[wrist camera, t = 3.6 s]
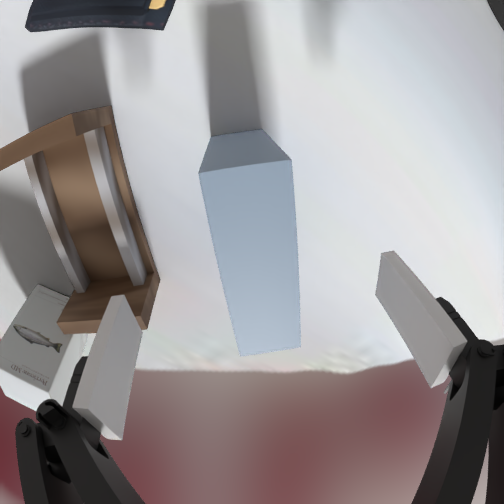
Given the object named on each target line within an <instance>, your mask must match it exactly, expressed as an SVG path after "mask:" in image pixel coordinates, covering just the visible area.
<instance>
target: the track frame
mask: <svg viewBox="0 0 504 504" xmlns="http://www.w3.org/2000/svg"><path fill="white" fill-rule="evenodd" d="M22 159H24V161H25V165H26V169H27V172H28V175H29V179H30V182H31V185H32V188H33V191H34V194H35V197H36V200H37V203H38V206H39V209H40V211H41V214H42V217H43V219H44V222H45V224H46V227H47V229H48V232H49V234H50V237H51V239H52V242H53V244H54V246H55V249H56V251H57V253H58V255H59V257H60V260H61V262H62V264H63V266H64V268H65V270H66V272H67V274H68V276H69V278H70V280H71V282H72V284H73V286H74V288H75V290H74V291H73V293H72V295H71V297H70V298H69V300H68V302H67V304H66V306H65V307H64V309H63V311H62V313H61V315H60V317H59V318H58V320H57V322H56V323H57V325H58V326H59V328H60V329H61V331H62V332H63V334H85V333H97V331H98V328H99V326H100V323H101V321H102V318H103V316H104V313H105V311H106V308H107V306H108V303H109V301H110V299H111V296H118V295H125V298H126V300H127V302H128V304H129V306H130V308H131V310H132V312H133V314H134V316H135V318H136V320H137V322H138V324H139V326H140V328H141V330H145V329H147V328H148V324H149V320H150V316H151V312H152V308H153V305H154V301H155V297H156V293H157V290H158V286H159V283H160V278H159V275H158V272H157V270H156V267H155V264H154V261H153V258H152V255H151V252H150V249H149V246H148V243H147V240H146V237H145V234H144V231H143V228H142V225H141V222H140V218H139V215H138V212H137V208H136V205H135V201H134V198H133V195H132V191H131V187H130V184H129V180H128V176H127V172H126V169H125V165H124V161H123V157H122V153H121V148H120V144H119V140H118V135H117V131H116V126H115V122H114V117H113V112H112V107H111V106H106V107H100V108H95V109H90V110H85V111H80V112H76V113H71V114H69V115H67V116H64V117H62V118H60V119H58V120H55V121H53V122H51V123H49V124H47V125H44V126H42V127H40V128H38V129H36V130H34V131H32V132H30V133H28V134H26V135H24V136H23V137H21V138H19V139H17V140H15V141H13V142H12V143H10V144H8V145H6V146H5V147H3V148H1V149H0V171H1V170H3V169H5V168H7V167H9V166H10V165H12V164H14V163H16V162H18V161H20V160H22Z"/></svg>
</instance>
